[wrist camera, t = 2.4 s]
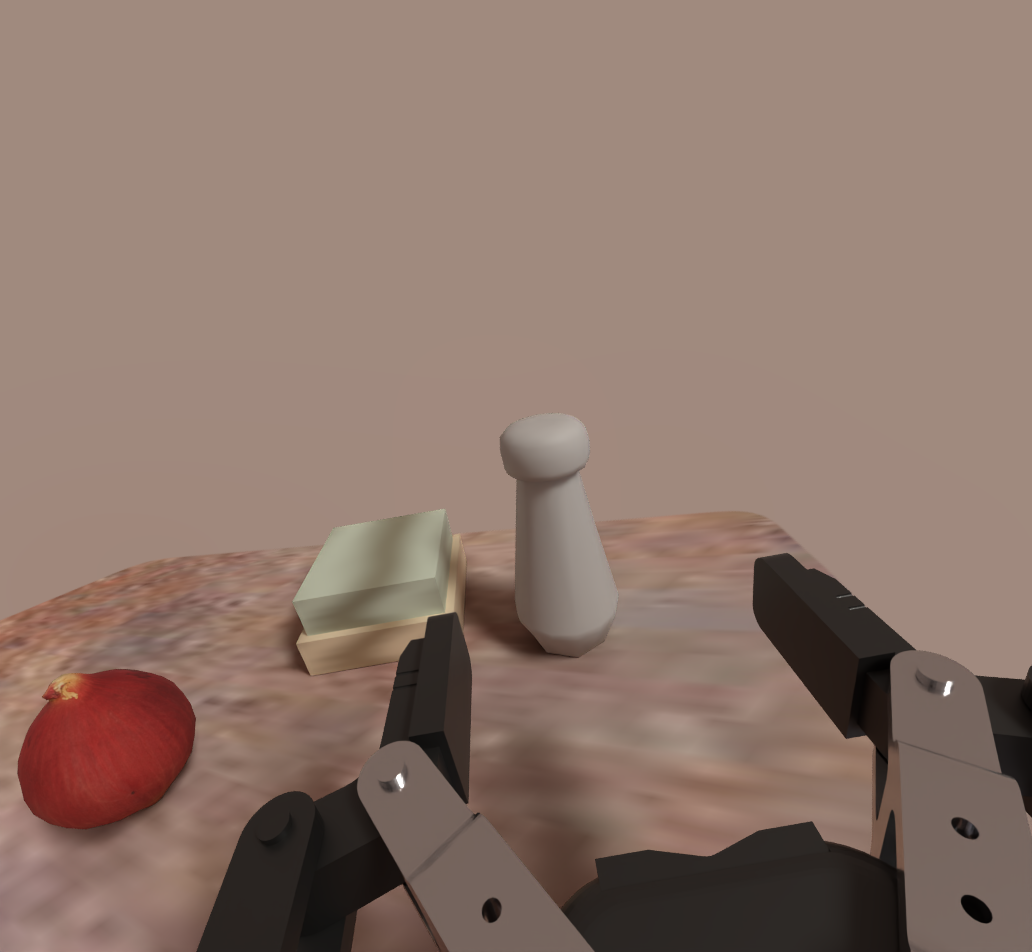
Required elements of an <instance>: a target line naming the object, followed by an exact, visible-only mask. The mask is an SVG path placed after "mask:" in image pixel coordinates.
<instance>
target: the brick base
mask: <svg viewBox="0 0 1032 952" xmlns="http://www.w3.org/2000/svg"><path fill="white" fill-rule="evenodd" d="M466 566H467V561H466V557H465V553H464V549H463V545H462V540H461V536H460V534H456V535H452V533H451V530H450V526H449V522H448V518H447V514H446V510H445V509H441V510H435V511H429V512H424V513H418V514H412V515H406V516H400V517H394V518H389V519H383V520H377V521H371V522H366V523H360V524H354V525H349V526H343V527H337V528H333V530H332V532H331V533H330V535H329V537H328V539H327V541H326V542H325V544H324V546H323V548H322V550H321V551H320V553H319V555H318V557H317V559H316V560H315V562H314V564H313V566H312V567H311V569H310V571H309V573H308V575H307V576H306V578H305V580H304V582H303V584H302V585H301V587H300V589H299V591H298V593H297V594H296V596H295V598H294V600H293V601H292V602H293V605H294V607H295V609H296V611H297V613H298V616H299V618H300V620H301V622H302V625H303V627H304V629H303V631H302V633H301V635H300V637H299V639H298V641H297V643H296V645H297V647H298V649H299V651H300V654H301V656H302V658H303V660H304V662H305V664H306V666H307V669H308V671H309V673H310V675H311V676H313V675H319V674H325V673H331V672H337V671H343V670H349V669H354V668H360V667H366V666H372V665H378V664H384V663H390V662H396V661H399V658H400V655H401V654H402V652H403V651H404V649H405V648H406V647H407V645H408V644H409V642H410V641H411V640H414V639H420V638H424V636H425V630H426V624H427V619H428V617H430V616H435V615H441V614H447V613H452V612H456V613H457V615H458V617H459V621H460V624H461V628H462V632H463V624H464V605H465V585H466Z"/></svg>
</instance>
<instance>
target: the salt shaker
mask: <svg viewBox="0 0 1032 952" xmlns="http://www.w3.org/2000/svg"><path fill="white" fill-rule="evenodd" d="M589 447H590V446H589V438H588V434H587V431H586V427H585V426H584V425H583V423H582V422H581V421H580V420H578V419H577V418H575V417H574V416H571V415H567V414H556V413H549V414H540V415H534V416H530V417H527V418H523V419H520V420H518V421H516V422H514V423H512V424H511V425H510V426H508V428H506V430H505V431H504V432H503V434H502V435H501V436H500V452H501V456H502V460H503V464H504V468H505V470H506V472H507V473H508V475H510V476H511V477H513V478H515V479H517V490H516V492H517V493H516V494H517V495H516V553H515V603H516V609H517V614H518V617H519V620H520V622H521V623H522V624H523V625H524V626H525V627H526V628H527V629H528V630H529V631H530V632H531V633H532V634H533V635H534V637H535V638H536V639H537V641H538V642H539V643H540V644H541V646H542V647H543V648H544V649H545V651H546V652H547V653H552V654H559V655H565V656H572V657H580V656H582V655H583V654H585V653H587V652H588V651H590V650H591V649H593V648H594V647H596V646H597V645H599V644H601V643H602V642H604V640H605V638H606V636H607V634H608V631H609V629H610V627H611V625H612V622H613V620H614V618H615V613H616V608H617V604H618V592H617V589H616V586H615V583H614V579H613V576H612V573H611V570H610V567H609V564H608V561H607V558H606V555H605V552H604V549H603V546H602V543H601V540H600V537H599V534H598V531H597V528H596V525H595V522H594V519H593V516H592V513H591V509H590V506H589V502H588V499H587V496H586V493H585V489H584V486H583V483H582V480H581V476H580V473H579V470H581V469H583V468H584V467H585V465H586V463H587V460H588V458H589V454H590V448H589Z"/></svg>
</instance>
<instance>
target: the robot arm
mask: <svg viewBox="0 0 1032 952" xmlns="http://www.w3.org/2000/svg"><path fill="white" fill-rule="evenodd" d="M753 610H754V615H755V618H756V620H757V622H758V624H759V626H760V628H761V629H762V631H763V632H764V633H765V634H766V636H767V637H768V638H769V640H770V641H771V642H772V644H773V645H774V646H775V647H776V649H777V650H778V651H779V653H780V654H781V655H782V656H783V658H784V659H785V660H786V662H787V663H788V664H789V666H790V667H791V668H792V669H793V671H794V672H795V673H796V675H797V676H798V677H799V678H800V680H801V681H802V682H803V684H804V685H805V686H806V688H807V689H808V690H809V691H810V693H811V694H812V695H813V697H814V698H815V699H816V701H817V702H818V703H819V704H820V706H821V707H822V708H823V710H824V711H825V712H826V713H827V715H828V716H829V717H830V719H831V720H832V721H833V723H834V724H835V725H836V726H837V728H838V729H839V730H840V732H841V733H842V734H843V735H844V737H845V738H846V739H848V738H853V737H859V736H865V735H867V736H868V738H869V739H870V740H871V741H872V742H873V744H874V749H873V755H872V841H871V850H870V855H869V854H867V853H865V852H863V851H860V850H857V849H854V848H851V847H849V846H845V845H841V844H837V843H833V842H828V841H824V840H823V839H822V837H821V835H820V834H819V832H818V830H817V829H816V827H815V825H814V824H813V822H812V821H811V822H806V823H800V824H794V825H788V826H783V827H777V828H771V829H765V830H760V831H757V832H755V833H753V834H752V835H750V836H748V837H746V838H744V839H742V840H741V841H739V842H737V843H735V844H733V845H731V846H730V847H728V848H726V849H724V850H722V851H720V852H719V853H717V854H715V855H712V856H708V857H706V856H695V855H687V854H679V853H670V852H662V851H654V850H644V851H639V852H633V853H627V854H621V855H616V856H610V857H604V858H598V859H595V861H596V867H597V873H598V878H596V879H595V880H593V881H591V882H589V883H587V884H586V885H585V886H584V887H582V888H581V889H580V890H578V891H577V892H576V893H575V894H574V895H573V896H572V897H571V898H570V899H569V900H568V901H567V902H566V903H565V904H564V906H563V907H562V908H561V910H560V908H559V907H558V906H557V905H556V903H555V902H554V901H553V900H552V899H551V897H550V896H549V895H548V894H547V892H546V891H545V890H544V889H543V887H542V886H541V885H540V884H539V882H538V881H537V880H536V879H535V878H534V876H533V875H532V874H531V873H530V871H529V870H528V869H527V868H526V866H525V865H524V864H523V863H522V862H521V860H520V859H519V858H518V857H517V855H516V854H515V853H514V852H513V850H512V849H511V848H510V847H509V845H508V844H507V843H506V842H505V841H504V839H503V838H502V837H501V836H500V834H499V833H498V832H497V831H496V829H495V828H494V827H493V826H492V825H491V823H490V822H489V821H488V820H487V819H486V818H485V817H484V816H483V815H482V814H480V813H477V814H476V815H475V814H474V813H473V812H472V811H471V810H470V809H469V808H468V807H467V805H466V804H468V797H469V762H470V728H471V694H472V671H471V663H470V657H469V653H468V649H467V646H466V642H465V639H464V635H463V632H462V628H461V624H460V621H459V617H458V615H457V613H456V612H452V613H447V614H441V615H435V616H430V617H428V619H427V624H426V630H425V636H424V638H420V639H414V640H411V641H410V642H409V644H408V645H407V647H406V648H405V649H404V651H403V652H402V654H401V655H400V658H399V662H398V667H397V672H396V677H395V681H394V685H393V691H392V695H391V699H390V704H389V708H388V713H387V718H386V722H385V727H384V732H383V736H382V741H381V745H380V748H379V750H378V751H377V752H375V753H374V754H373V755H372V756H371V757H370V758H369V759H368V761H367V762H366V763H365V765H364V766H363V768H362V770H361V772H360V775H359V777H358V778H357V779H356V780H354V781H353V782H352V783H350V784H348V785H347V786H345V787H343V788H341V789H339V790H337V791H335V792H333V793H331V794H329V795H327V796H325V797H323V798H321V799H319V800H317V801H315V802H313V800H312V798H311V797H310V796H309V795H307V794H306V793H303V792H300V791H293V792H288V793H284V794H282V795H279V796H277V797H275V798H274V799H272V800H270V801H269V802H267V803H266V804H265V805H264V806H262V807H261V808H260V809H259V810H258V811H257V812H256V813H255V814H254V815H253V817H252V818H251V819H250V820H249V822H248V823H247V825H246V826H245V828H244V830H243V831H242V834H241V836H240V838H239V841H238V843H237V846H236V849H235V851H234V854H233V857H232V859H231V862H230V864H229V867H228V870H227V872H226V875H225V878H224V880H223V883H222V886H221V888H220V891H219V893H218V896H217V899H216V901H215V904H214V907H213V909H212V912H211V915H210V917H209V920H208V922H207V925H206V928H205V930H204V933H203V936H202V938H201V941H200V944H199V946H198V949H197V952H351V948H352V941H353V934H354V928H355V921H356V914H357V910H358V909H360V908H361V907H363V906H365V905H366V904H368V903H370V902H372V901H373V900H375V899H377V898H378V897H380V896H382V895H384V894H385V893H387V892H389V891H391V890H392V889H394V888H396V887H397V886H399V885H401V884H402V886H403V887H404V889H405V891H406V893H407V895H408V896H409V898H410V900H411V902H412V904H413V905H414V907H415V909H416V911H417V913H418V914H419V916H420V918H421V920H422V922H423V923H424V925H425V927H426V929H427V931H428V932H429V934H430V936H431V938H432V940H433V941H434V943H435V945H436V947H437V949H438V950H439V952H1032V836H1031V832H1030V828H1029V824H1028V820H1027V816H1026V812H1027V813H1028V814H1029V815H1030V816H1031V817H1032V666H1031V667H1030V668H1029V670H1028V673H1027V676H1026V679H1025V680H1022V679H1009V678H998V677H984V676H975V675H974V674H973V673H972V672H970V671H969V670H968V669H967V668H965V667H964V666H962V665H961V664H959V663H957V662H956V661H954V660H951V659H949V658H947V657H945V656H942V655H939V654H935V653H931V652H926V651H917V650H916V649H914V648H913V647H912V646H911V645H910V644H909V643H907V641H905V640H904V639H903V638H902V637H901V636H900V635H899V634H897V633H896V632H895V631H894V630H893V629H892V628H890V627H889V626H888V625H887V624H886V623H885V622H884V621H883V620H881V619H880V618H879V617H878V616H877V615H876V614H875V613H874V612H872V611H871V610H870V609H869V608H868V607H867V608H866V607H865V605H864V604H863V603H862V602H861V601H860V600H859V599H858V598H857V597H855V596H852V594H851V592H850V591H849V590H847V589H846V588H845V587H844V586H843V585H842V584H841V583H839V582H838V581H837V580H836V579H834V578H832V577H830V576H828V575H826V574H824V573H822V572H820V571H818V570H816V569H808V570H807V569H806V568H804V567H803V566H802V565H801V564H800V563H799V562H798V561H797V560H796V559H795V558H794V557H793V556H791V555H790V554H788V553H784V554H778V555H773V556H767V557H762V558H757V559H756V561H755V564H754V584H753Z"/></svg>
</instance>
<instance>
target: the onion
mask: <svg viewBox="0 0 1032 952" xmlns="http://www.w3.org/2000/svg"><path fill="white" fill-rule="evenodd" d="M42 697H43V698H44V699H46V700H49V702H48V703H47V704H46V705H45V706H44V707H43V709H42V710H41V711H40V713H39V714H38V716H37V717H36V718H35V720H34V721H33V723H32V724H31V726H30V728H29V730H28V732H27V734H26V737H25V740H24V743H23V746H22V749H21V752H20V756H19V759H18V778H19V781H20V785H21V789H22V793H23V798H24V801H25V802H26V804H27V805H28V807H29V808H30V810H31V811H32V813H33V814H34V815H35V816H37V817H39V818H41V819H42V820H44V821H46V822H48V823H49V824H53V825H57V826H61V827H65V828H75V829H88V828H92V827H96V826H101V825H105V824H109V823H112V822H115V821H119V820H122V819H123V818H125V817H127V816H129V815H131V814H133V813H135V812H137V811H139V810H141V809H144V808H147V807H149V806H151V805H153V804H155V803H156V802H157V801H159V800H160V799H161V798H162V797H163V795H164V793H165V792H166V790H167V789H168V788H169V786H170V785H171V784H172V782H173V781H174V780H175V778H176V777H177V775H178V774H179V773H180V771H181V770H182V768H183V767H184V765H185V763H186V761H187V760H188V758H189V756H190V754H191V752H192V747H193V741H194V735H195V722H196V718H195V715H194V712H193V709H192V707H191V704H190V702H189V701H188V699H187V698H186V696H185V695H184V693H183V692H182V691H181V690H180V689H179V688H178V687H177V686H176V685H175V684H174V683H173V682H172V681H170V680H168V679H166V678H164V677H162V676H159V675H156V674H152V673H148V672H143V671H138V670H128V669H114V670H108V671H103V672H98V673H94V674H82V673H69V674H63V675H61V676H60V677H59V678H57V679H55V680H53V681H52V683H51V684H50V685H49V687H48V689H47V691H46V692H45V694H44V695H43V696H42Z"/></svg>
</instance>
